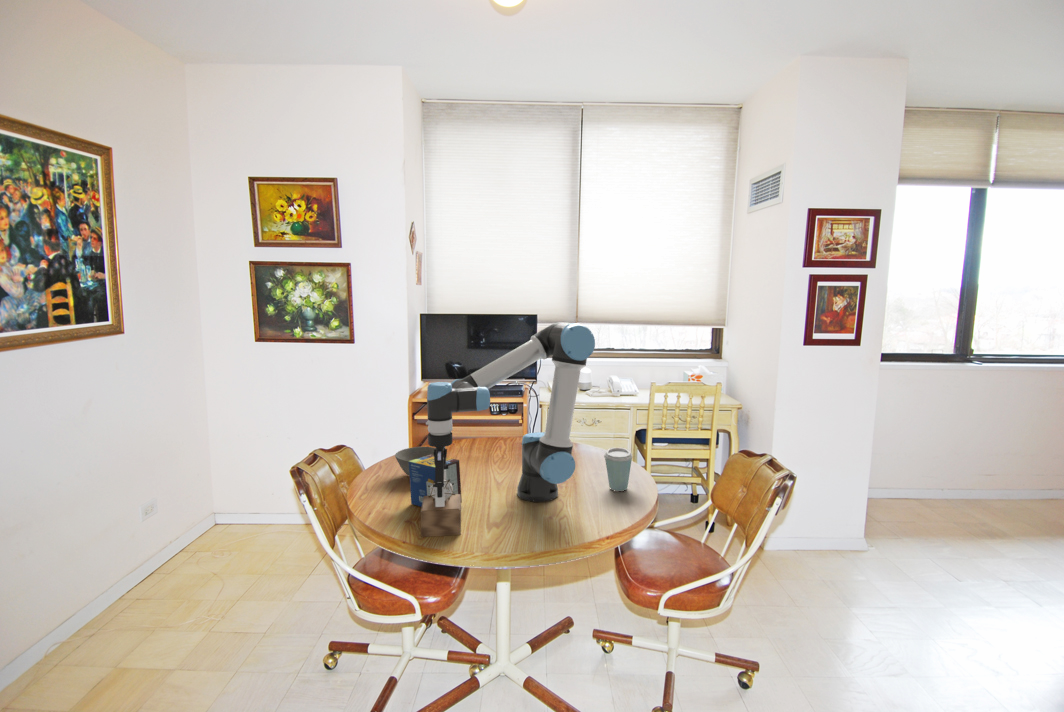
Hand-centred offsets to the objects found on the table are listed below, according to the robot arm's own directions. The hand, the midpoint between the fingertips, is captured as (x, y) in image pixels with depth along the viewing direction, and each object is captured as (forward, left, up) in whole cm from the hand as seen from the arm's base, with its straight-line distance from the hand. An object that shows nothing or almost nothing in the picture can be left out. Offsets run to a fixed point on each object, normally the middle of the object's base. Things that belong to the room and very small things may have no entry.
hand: (441, 497), depth 157 cm
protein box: (+3, -17, -9) cm, 19 cm away
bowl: (+11, -45, -10) cm, 48 cm away
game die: (0, 0, -2) cm, 2 cm away
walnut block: (0, 0, -10) cm, 10 cm away
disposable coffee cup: (-65, -23, -10) cm, 70 cm away
